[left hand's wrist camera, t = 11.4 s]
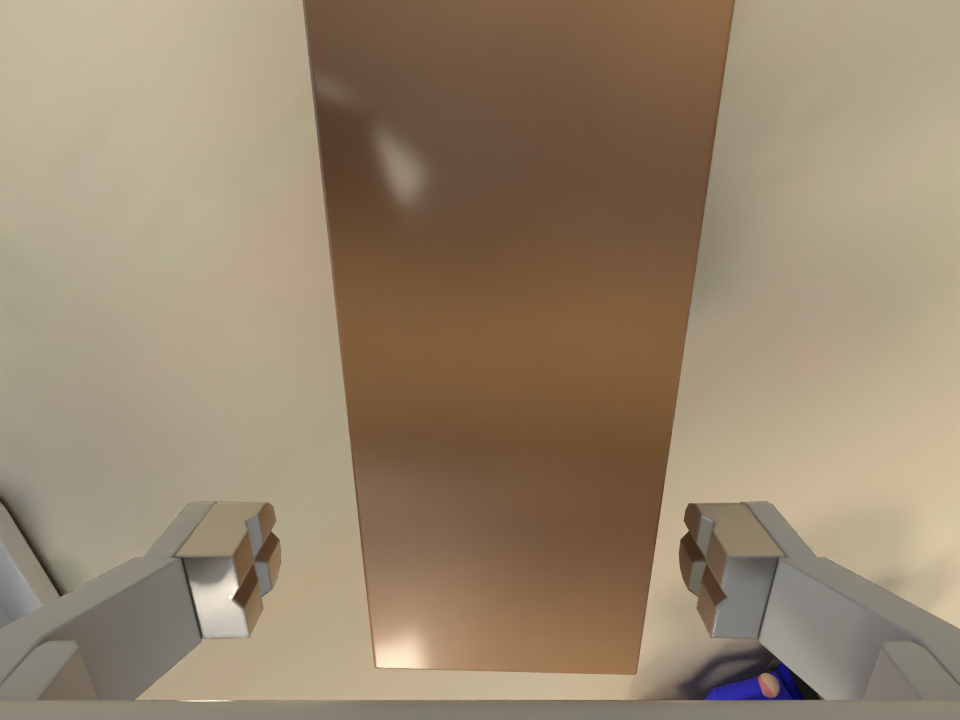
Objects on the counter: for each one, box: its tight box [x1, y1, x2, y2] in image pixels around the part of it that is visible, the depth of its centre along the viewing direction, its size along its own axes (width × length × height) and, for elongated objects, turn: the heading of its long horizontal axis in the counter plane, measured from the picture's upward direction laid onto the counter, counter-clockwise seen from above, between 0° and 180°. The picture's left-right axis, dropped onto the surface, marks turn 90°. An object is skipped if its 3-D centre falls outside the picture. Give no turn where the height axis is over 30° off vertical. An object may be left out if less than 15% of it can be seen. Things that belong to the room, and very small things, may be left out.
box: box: [303, 0, 735, 675], centre depth 14 cm, size 21×6×13 cm, turn 0°
